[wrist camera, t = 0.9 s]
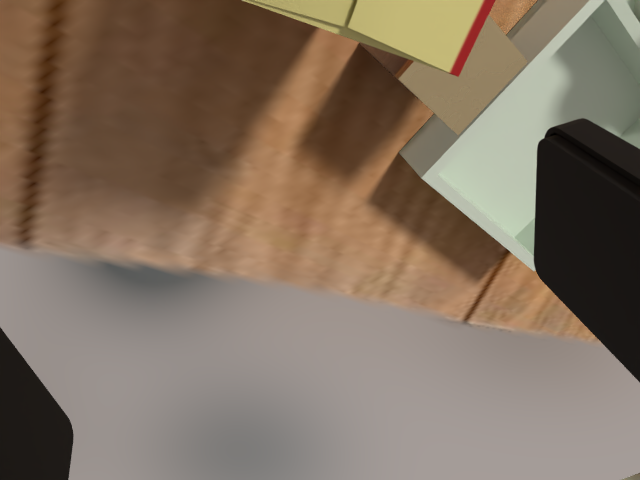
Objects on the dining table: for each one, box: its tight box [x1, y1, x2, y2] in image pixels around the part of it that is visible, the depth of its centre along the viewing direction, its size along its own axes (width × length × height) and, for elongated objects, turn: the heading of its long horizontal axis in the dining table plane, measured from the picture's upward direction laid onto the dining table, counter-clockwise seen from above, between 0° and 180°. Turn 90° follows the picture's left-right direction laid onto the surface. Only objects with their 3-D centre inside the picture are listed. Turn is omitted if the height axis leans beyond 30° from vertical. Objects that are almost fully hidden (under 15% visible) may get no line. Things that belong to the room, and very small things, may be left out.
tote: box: [399, 0, 640, 271], centre depth 38 cm, size 24×14×4 cm, turn 139°
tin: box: [359, 15, 528, 135], centre depth 32 cm, size 5×5×7 cm
